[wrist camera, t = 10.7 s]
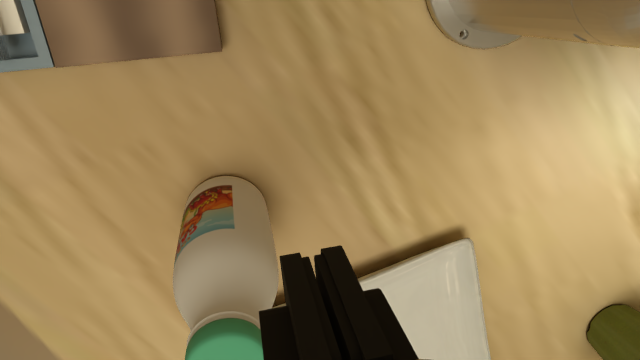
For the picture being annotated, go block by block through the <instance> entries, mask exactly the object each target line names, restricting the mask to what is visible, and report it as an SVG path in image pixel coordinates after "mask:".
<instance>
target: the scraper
mask: <svg viewBox="0 0 640 360" xmlns="http://www.w3.org/2000/svg"><path fill="white" fill-rule="evenodd" d="M7 58H11V57H10V55H9V52H8V49H7V46H6V43H5V40H4V37H3V34H2V31H1V29H0V60H4V59H7Z"/></svg>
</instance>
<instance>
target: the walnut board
mask: <svg viewBox="0 0 640 360" xmlns="http://www.w3.org/2000/svg"><path fill="white" fill-rule="evenodd" d="M35 2H36V5H37V9H38V12H39V15H40V18H41V21H42V25H43V28H44V31H45V34H46V38H47V41H48V44H49V47H50V51H51V54H52V57H53V60H54V64H55V67H56V68H57V67H67V66H77V65H87V64H97V63H108V62H118V61H128V60H138V59H148V58H159V57H169V56H179V55H189V54H199V53H210V52H220V51H222V43H221V36H220V30H219V24H218V17H217V11H216V5H215V0H35Z"/></svg>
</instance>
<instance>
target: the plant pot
mask: <svg viewBox="0 0 640 360" xmlns="http://www.w3.org/2000/svg"><path fill="white" fill-rule="evenodd" d="M587 338H588V341H589V343H590V344H591V345H592V346H593V348H594V349H595V350H596V351H597V353H598V354H599V355H600V356H601V357H602V359H603V360H640V312H638V311H637V310H635V309H633V308H631V307H629V306H627V305H613V306H610V307H608V308H606V309H604V310H603V311H601V312H600V313H599V314H598V315H596V316H595V318H594V319H593V320H592V322H591V324H590V329H589V331H588V332H587Z"/></svg>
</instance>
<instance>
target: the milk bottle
mask: <svg viewBox="0 0 640 360" xmlns="http://www.w3.org/2000/svg"><path fill="white" fill-rule="evenodd" d="M278 277H279V274H278V264H277V256H276V250H275V245H274V239H273V234H272V229H271V224H270V219H269V214H268V210H267V206H266V202H265V199H264V197H263V195H262V194H261V192H260V191H259V190H258V189H257V188H256V187H255V186H254V185H253V184H251V183H250V182H248V181H246V180H244V179H242V178H238V177H234V176H220V177H215V178H212V179H209V180H207V181H205V182H203V183H201V184H200V185H199V186H197V187H196V188H195V189H194V190H193V192H192V193H191V194H190V196H189V198H188V200H187V203H186V206H185V210H184V214H183V219H182V224H181V229H180V235H179V240H178V245H177V251H176V257H175V263H174V272H173V291H174V297H175V301H176V304H177V307H178V309H179V311H180V313H181V315H182V317H183V318H184V320H185V321H186V323H187V324H188V326H189V327H190V330H191V332H190V334H189V336H188V340H187V349H186V355H185V360H264V358H263V349H262V339H261V330H260V321H259V311H261V310H267V309H271V308H272V306H273V304H274V301H275V298H276V294H277V289H278Z"/></svg>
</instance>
